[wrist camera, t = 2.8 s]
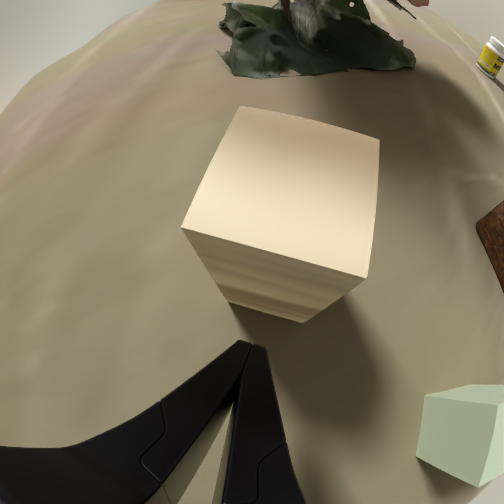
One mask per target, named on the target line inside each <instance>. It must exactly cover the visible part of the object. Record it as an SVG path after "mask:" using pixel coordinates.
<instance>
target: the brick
mask: <svg viewBox="0 0 504 504" xmlns="http://www.w3.org/2000/svg"><path fill="white" fill-rule="evenodd" d="M476 226H477V229H478V232H479V235H480V237H481V239H482V242H483V245H484V247H485V250H486V252H487V254H488V256H489V258H490V260H491V263H492V265H493V267H494V270H495V272H496V274H497V277H498V279H499V281H500V283H501V287H502V289H503V292H504V201H503V202H502V203H500V204H499V205H497V206H496V207H495V208H494V209H493V210H491V211H490V212H489V213H488V214H487V215H485V216H484V217H483V218H482V219H480V220H479V221H478V222H477V223H476Z"/></svg>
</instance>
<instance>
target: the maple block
mask: <svg viewBox="0 0 504 504" xmlns="http://www.w3.org/2000/svg"><path fill="white" fill-rule="evenodd" d="M378 172H379V139H376V138H373V137H370V136H367V135H364V134H360V133H357V132H354V131H351V130H347V129H344V128H341V127H337V126H333V125H330V124H326V123H322V122H318V121H314V120H310V119H306V118H302V117H298V116H293V115H288V114H284V113H279V112H274V111H268V110H263V109H257V108H251V107H245V106H240V107H239V109H238V111H237V112H236V114H235V116H234V118H233V120H232V122H231V124H230V125H229V127H228V129H227V131H226V133H225V135H224V137H223V139H222V141H221V143H220V145H219V147H218V149H217V151H216V153H215V155H214V157H213V159H212V161H211V163H210V165H209V167H208V169H207V171H206V173H205V175H204V177H203V180H202V182H201V184H200V186H199V188H198V190H197V192H196V195H195V197H194V199H193V201H192V203H191V206H190V208H189V210H188V212H187V215H186V217H185V219H184V222H183V224H182V226H181V228H182V230H183V231H184V233H185V235H186V236H187V238H188V240H189V241H190V243H191V245H192V246H193V248H194V249H195V251H196V253H197V254H198V256H199V257H200V259H201V261H202V262H203V264H204V265H205V267H206V269H207V270H208V272H209V273H210V275H211V277H212V278H213V280H214V281H215V283H216V284H217V286H218V287H219V289H220V291H221V292H222V294H223V295H224V297H225V298H226V300H227V301H228V302H230V303H234V304H237V305H240V306H244V307H247V308H250V309H254V310H257V311H261V312H264V313H267V314H271V315H275V316H278V317H282V318H285V319H289V320H293V321H296V322H300V323H304V322H306V321H307V320H309V319H310V318H312V317H313V316H315V315H316V314H318V313H319V312H321V311H322V310H324V309H325V308H327V307H328V306H329V305H331V304H332V303H334V302H335V301H337V300H338V299H339V298H341V297H342V296H344V295H345V294H346V293H348V292H349V291H350V290H352V289H353V288H355V287H356V286H357V285H359V284H360V283H361V282H363V281H364V280H365V279H367V273H368V267H369V261H370V254H371V247H372V239H373V231H374V222H375V212H376V201H377V188H378Z"/></svg>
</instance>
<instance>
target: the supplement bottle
mask: <svg viewBox="0 0 504 504" xmlns="http://www.w3.org/2000/svg"><path fill="white" fill-rule="evenodd" d="M503 63H504V45H503V44H502V43H501V42H500V41H498V40H497V39H496V38H494V37H491V38H490V43H486V44H485V47H484V49H483V51H482V53H481V55H480V57H479V58H478V60H477V62H476V65H477V67H478V68H479V69H480V70H481V71H482V72H483V73H485V74H486V75H487V76H488V77H490V78H492V79H494V78H495V77H496V75H497V74H498V72H499V70H500V68H501V67H502V65H503Z"/></svg>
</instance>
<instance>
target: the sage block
mask: <svg viewBox="0 0 504 504" xmlns="http://www.w3.org/2000/svg"><path fill="white" fill-rule="evenodd" d="M415 456H416V457H418V458H420V459H422V460H424V461H425V462H427V463H429V464H431V465H433V466H435V467H437V468H438V469H440V470H442V471H444V472H446V473H448V474H450V475H452V476H454V477H456V478H458V479H460V480H463V481H465V482H467V483H469V484H471V485H473V486H476V487H480V486H482V485H484V484H485V483H487V482H489V481H491V480H492V479H494V478H496V477H497V476H499V475H500V474H502V473H503V472H504V385H476V384H470V385H466V386H463V387H459V388H455V389H451V390H446V391H442V392H437V393H433V394H428V395H425V397H424V406H423V414H422V422H421V428H420V434H419V440H418V446H417V451H416V455H415Z"/></svg>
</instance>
